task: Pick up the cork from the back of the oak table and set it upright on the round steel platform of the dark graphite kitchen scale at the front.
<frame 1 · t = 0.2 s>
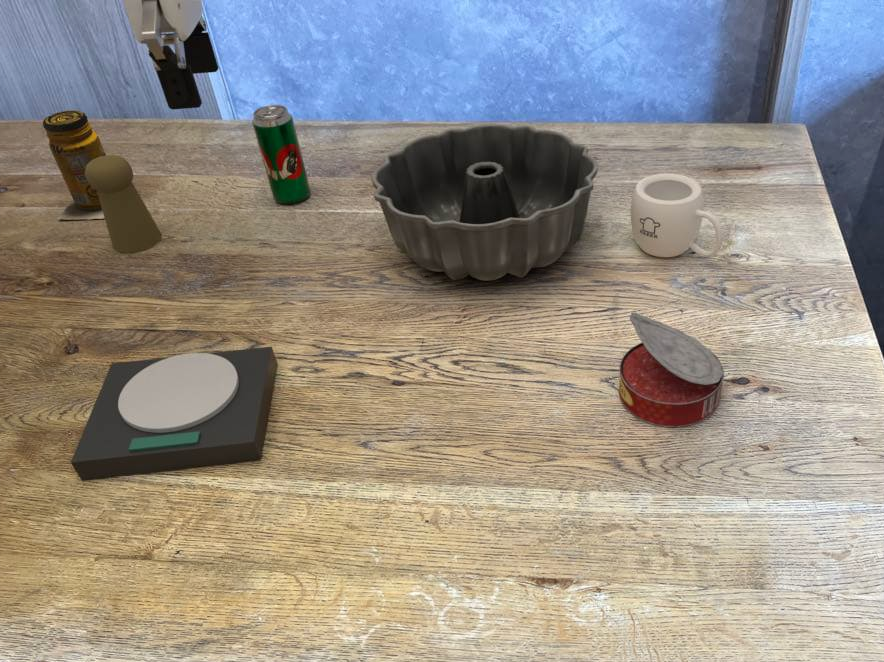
hand: (195, 88, 86), 21 cm above the table, tool pointing down, fingers open, 9 cm apart
condiment: (97, 206, 113), on the table
mug: (675, 252, 99), on the table
canned food: (669, 393, 80), on the table
scale: (186, 418, 79), on the table
soda can: (293, 198, 112), on the table
cork: (137, 241, 105), on the table
bundt pan: (491, 244, 102), on the table
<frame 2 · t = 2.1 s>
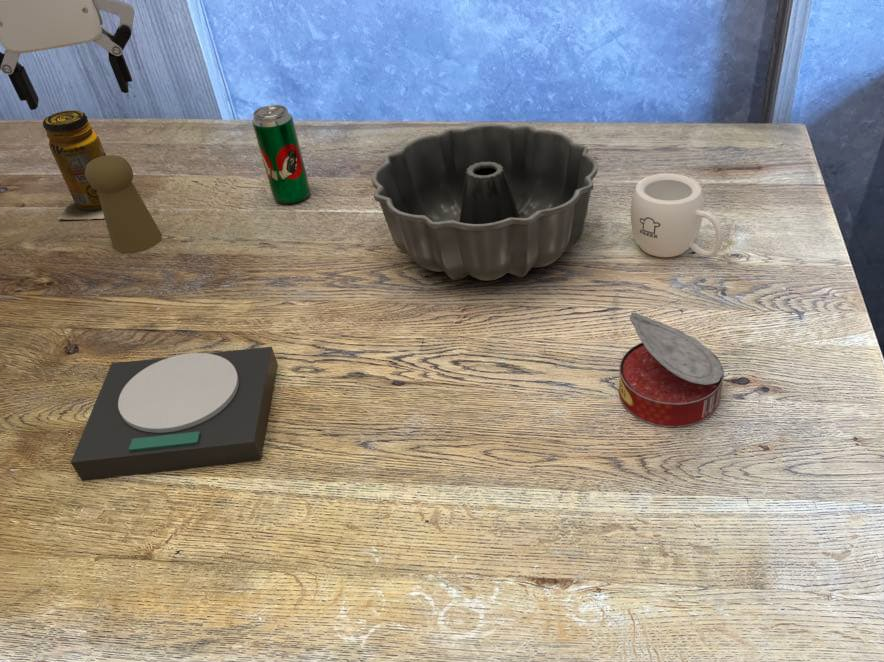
hand: (80, 96, 93), 19 cm above the table, tool pointing down, fingers open, 9 cm apart
nothing on the table moved.
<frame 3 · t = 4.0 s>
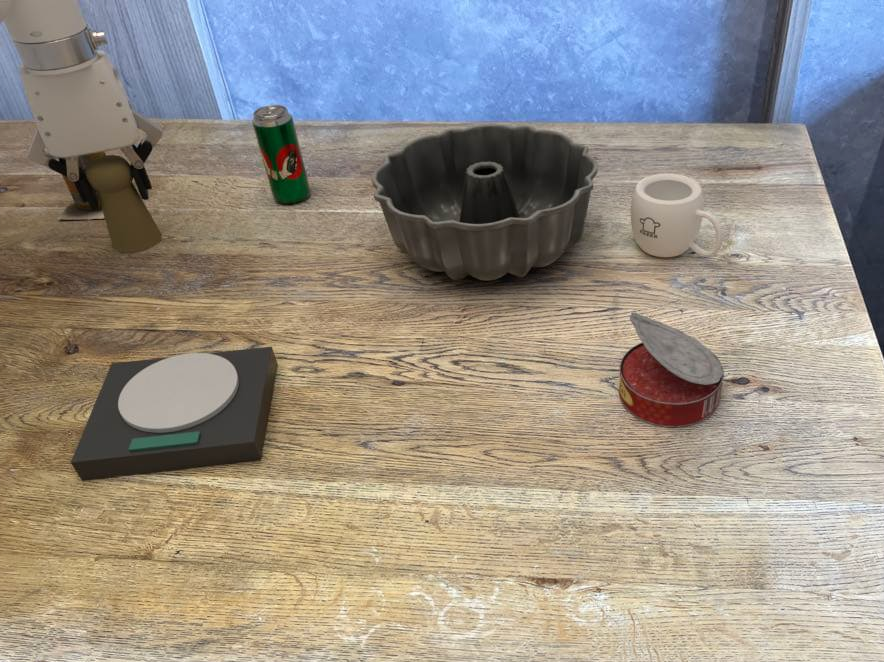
hand: (120, 199, 101), 6 cm above the table, tool pointing down, fingers closed on cork, 5 cm apart
cork: (137, 241, 105), on the table, touching gripper
everything else where it was.
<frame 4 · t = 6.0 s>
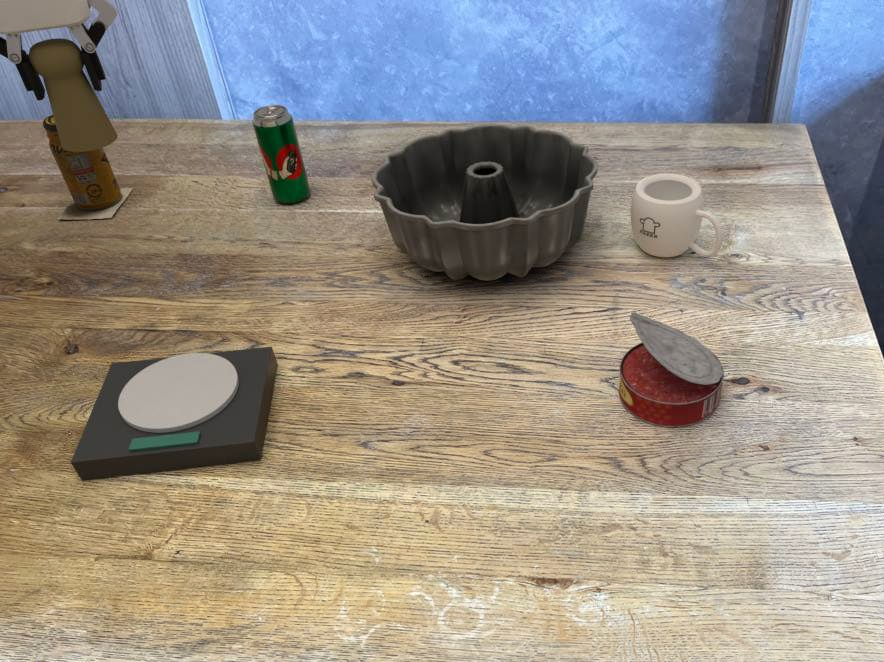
hand: (69, 89, 91), 20 cm above the table, tool pointing down, fingers closed on cork, 5 cm apart
cork: (90, 142, 95), point 14 cm above the table, touching gripper
everything else where it was.
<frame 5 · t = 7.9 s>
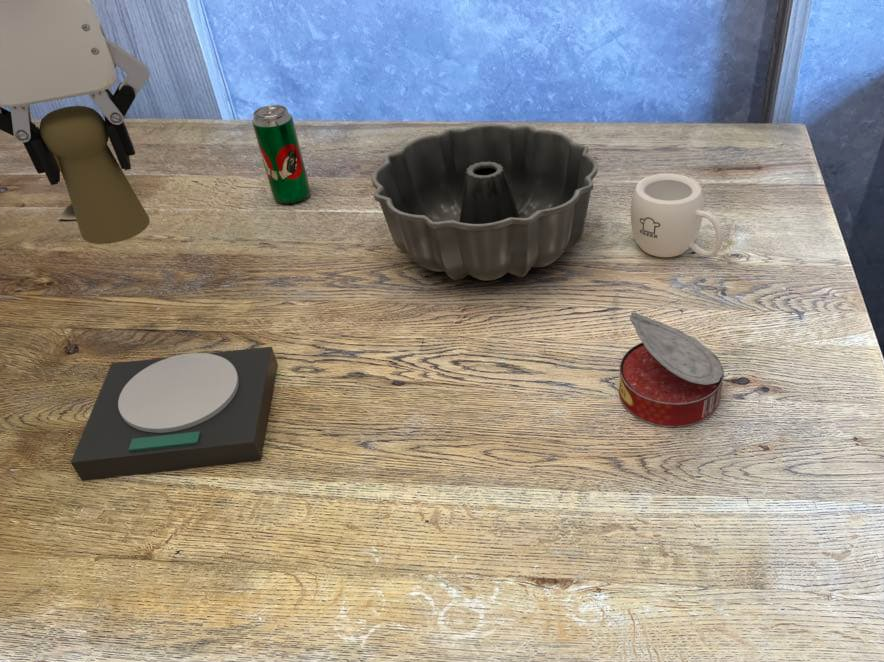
hand: (90, 168, 72), 21 cm above the table, tool pointing down, fingers closed on cork, 5 cm apart
cork: (116, 228, 76), point 15 cm above the table, touching gripper
everything else where it was.
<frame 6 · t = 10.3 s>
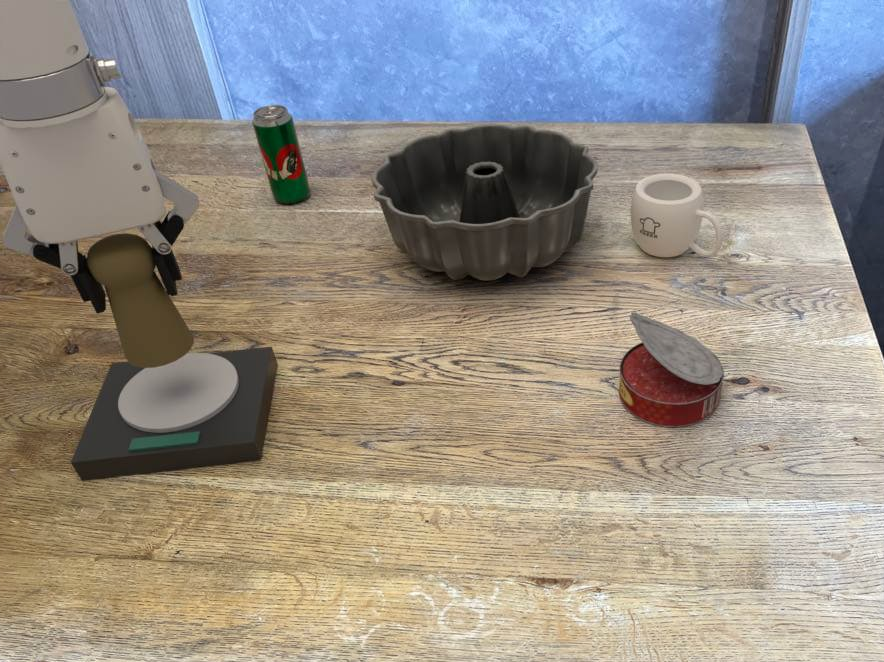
hand: (136, 294, 71), 14 cm above the table, tool pointing down, fingers closed on cork, 5 cm apart
cork: (160, 348, 75), point 8 cm above the table, touching gripper
everything else where it was.
when the fingers open (9 cm above the table, at t = 12.0 s): cork stays where it is, resting on scale.
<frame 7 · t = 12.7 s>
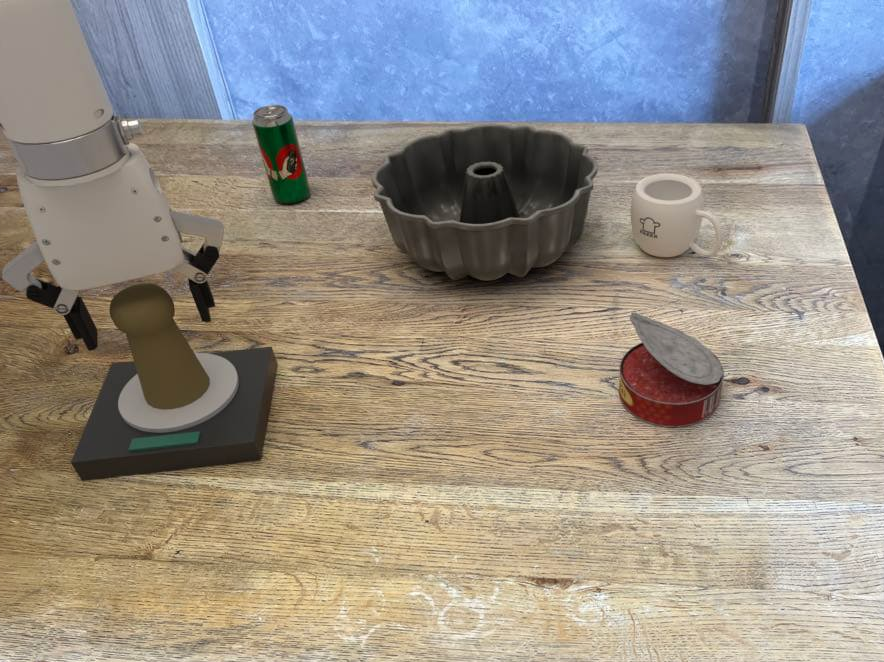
hand: (150, 327, 73), 10 cm above the table, tool pointing down, fingers open, 9 cm apart
cork: (178, 389, 78), point 3 cm above the table, touching scale
everything else where it was.
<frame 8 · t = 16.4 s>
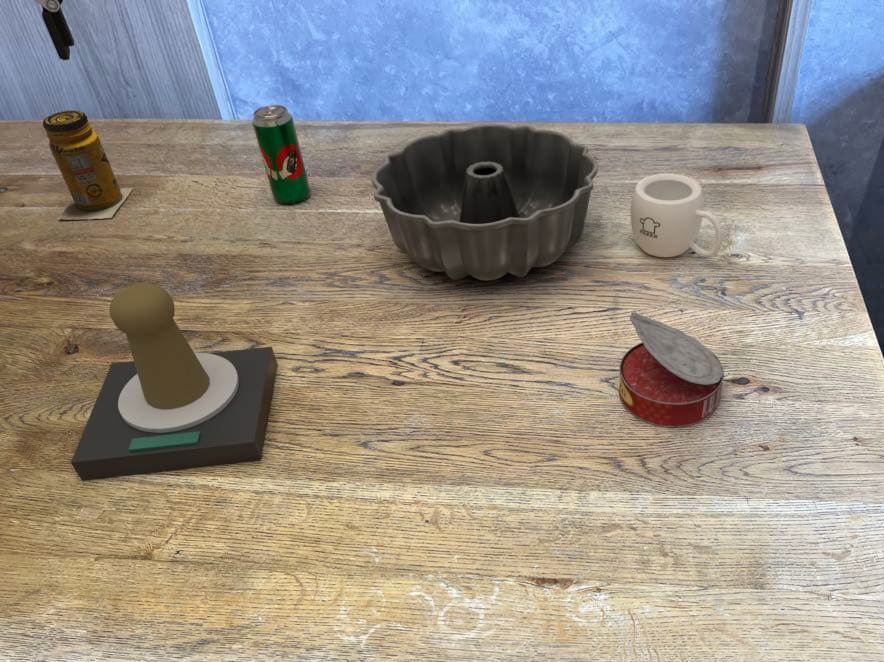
hand: (7, 64, 73), 28 cm above the table, tool pointing down, fingers open, 9 cm apart
nothing on the table moved.
at the end: cork inside the target area on the scale (0.1 cm from its centre), point 2.8 cm above the scale's base; cork tilted 0°; the gripper is holding nothing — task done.
